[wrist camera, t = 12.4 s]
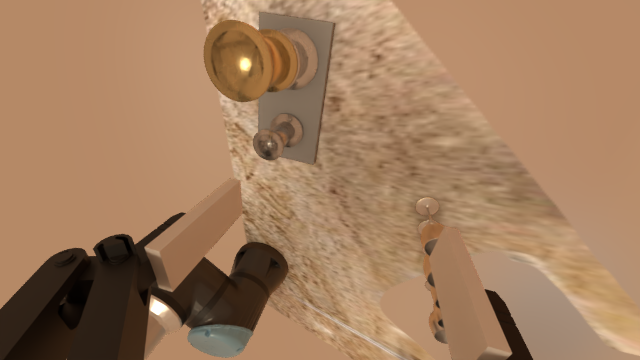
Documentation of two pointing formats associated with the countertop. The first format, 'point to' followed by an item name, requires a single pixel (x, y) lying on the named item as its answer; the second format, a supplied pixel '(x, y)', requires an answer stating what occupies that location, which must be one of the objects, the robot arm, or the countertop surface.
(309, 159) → the plate
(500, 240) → the countertop surface
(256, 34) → the gold flared knob
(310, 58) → the wide pipe stub
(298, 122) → the narrow pipe stub
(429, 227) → the goblet set
